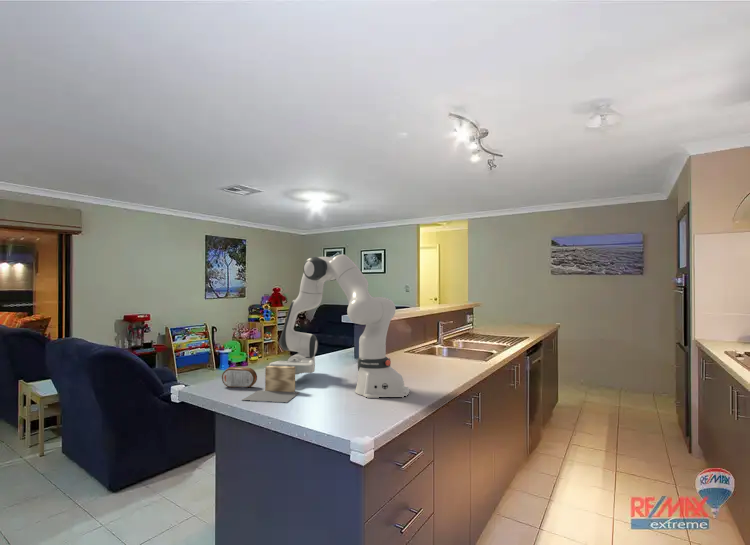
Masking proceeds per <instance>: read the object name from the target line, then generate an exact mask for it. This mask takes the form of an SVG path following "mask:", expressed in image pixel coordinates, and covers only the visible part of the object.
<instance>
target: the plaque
mask: <svg viewBox="0 0 750 545" xmlns="http://www.w3.org/2000/svg"><path fill="white" fill-rule="evenodd" d="M264 370H265V373H264V374H265V375H264V376H265V378H264V380H265V381H264V384H265V385H264V387H265V389H264V391H281V392H296V374H295V367H287V366H269V365H267V366H265V369H264Z"/></svg>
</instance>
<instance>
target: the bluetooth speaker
mask: <svg viewBox="0 0 750 545" xmlns="http://www.w3.org/2000/svg"><path fill="white" fill-rule="evenodd" d="M221 380H222V384H223V385H224V386H226V387H228V388H235V387H249V388H251V387H252V386H254V385H255V384H256V383H257V380H258V376H257V372H256V371H255V370H254V369H253V368H251V367H242V366H240V367H239V366H237V367H236V366H230V367H228V368H226V369H225V370H224V371H223V372H222V374H221Z"/></svg>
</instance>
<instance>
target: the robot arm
mask: <svg viewBox="0 0 750 545" xmlns="http://www.w3.org/2000/svg"><path fill="white" fill-rule="evenodd" d="M302 269H303V273H302V277H301V280H300V285H299V293H298V295H297V297H296V298H295V299H292V301H291V303H290V305H289V308H288V311H287V315H286V318H285V322H284V326H283V329H282V332H281V335H280V338H279V341H278V344H279V346H280V347H281V349H282V350H283V351H287V352H297V353H296V354H294V355H292V356H290V357H289V358H288V359H287V360H277V361H272V362H269V365H268V366H287V367H295V375H300V374H304V373H305V374H312V373H314V372H315V370H316V369H315V368H316V362H315V361H316V360H315V359H316V357H315V356H316V354H317V352H318V349H319V340H318V339H317V336H316V335H315V334H312V333H307V332H300V331H296V330H295V329H294V328H295V326H296V325H295V324H296V321H297V318H298V315H299V314H300V313H302V312H305V311H306V312H307V311H311V310H314V309H316V308H317V307H319V306H320V304H321V303H322V300H323V294H324V284H325V282H327V281H330V282H332V281H336V283H337V284H338V286H339V287H340V288H341V290H342V291H343V293H344V294H345V296H346V299H347V301H348V302H347V303H348V306H347V309H346V310H347V311H346V313H347V318H348V319H349V320H350V321H351V322H352V323H353V324H357V325H361V326H362V325H363V326H365V327H364V330H363V332H362V334H360V336H359V339H358V358H357V371H358V372H357V373H358V374H357V383H356V386H355V390H354V392H355V394H357V395H360V396H364V398H366V397H367V398H366V399H373V398H374V399H380V398H379V397H402V398H405V397H404V396H406V397H408V396H409V395H410V393H411V392H410V387H408V386H406V385H405V380H404V377H403V375H402V374H401V373H400V372H398V371H397V370H396V369H395V368H393V367H392V366H391V358H390V357H387V356H386V349H387V348H386V346H387V342H386V341H387V334H388V330H389V327H390V323H391V321H392V319H393V318H394V316H395V314H396V310H397V309H396V305H395V304H396V303H394V301H393V300H392V299H390V298H387V297H384V296H372V295H371V294H370V292H369V290H368V288H369V281H368V280H367V278H366V277H365V275H364V274H363V272H362V271H361V270H360V268H359V267H358V266H357V265H356V263H355V262H354V261H353V260H352V259H351V258H349V256H348V255H346V254H343V253H342V254H338V255H335V256H333V257H332V256H331V257H330V256H313V257H309V258H307V259H305V261H304V263H303V268H302ZM409 392H410V393H409ZM408 394H409V395H408ZM407 395H408V396H407Z"/></svg>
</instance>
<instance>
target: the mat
mask: <svg viewBox="0 0 750 545" xmlns="http://www.w3.org/2000/svg"><path fill="white" fill-rule="evenodd" d="M299 394H300V392H298V391H294V392H281V391H265V390H258V389H257V390H256V391H255V392H252V393H250V394H249V395H248V396H246V397H245V398H243V399H242V400H250V401H249V402H257V401H272V402H271V403H276V402H286V403H285V404H288V403H289V402H290V401H291V400H293V399H294V398H295V397H296V396H298V395H299ZM292 398H293V399H292ZM287 402H288V403H287Z"/></svg>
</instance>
